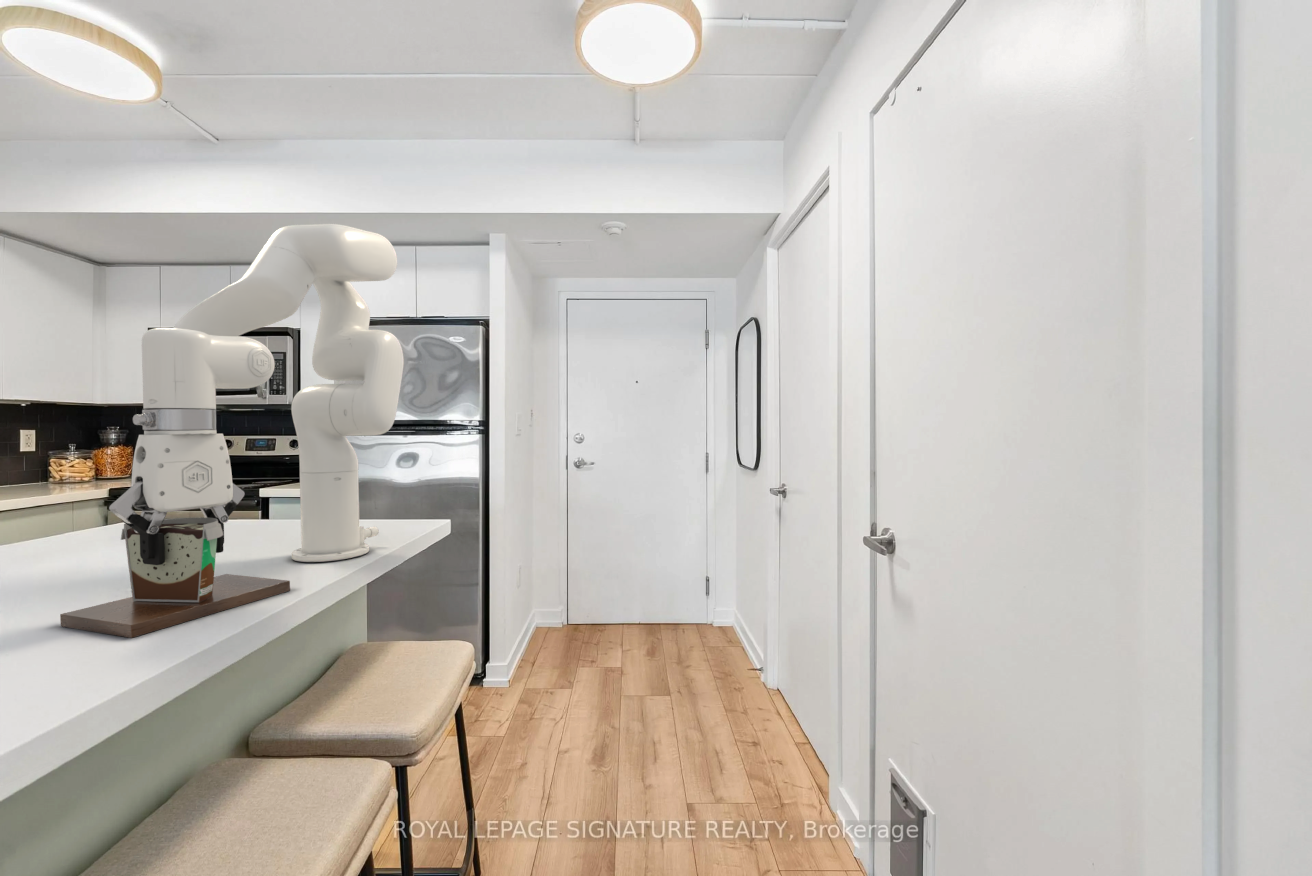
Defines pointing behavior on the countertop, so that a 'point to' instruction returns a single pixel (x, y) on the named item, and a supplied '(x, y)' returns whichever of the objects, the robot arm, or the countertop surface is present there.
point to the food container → (176, 561)
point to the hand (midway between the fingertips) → (184, 556)
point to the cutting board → (171, 607)
